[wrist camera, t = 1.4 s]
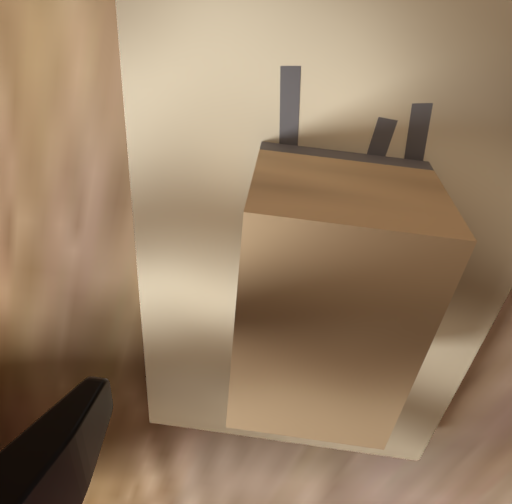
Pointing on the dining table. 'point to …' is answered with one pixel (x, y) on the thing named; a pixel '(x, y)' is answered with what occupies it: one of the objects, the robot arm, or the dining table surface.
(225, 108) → the board
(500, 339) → the dining table surface
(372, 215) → the block
